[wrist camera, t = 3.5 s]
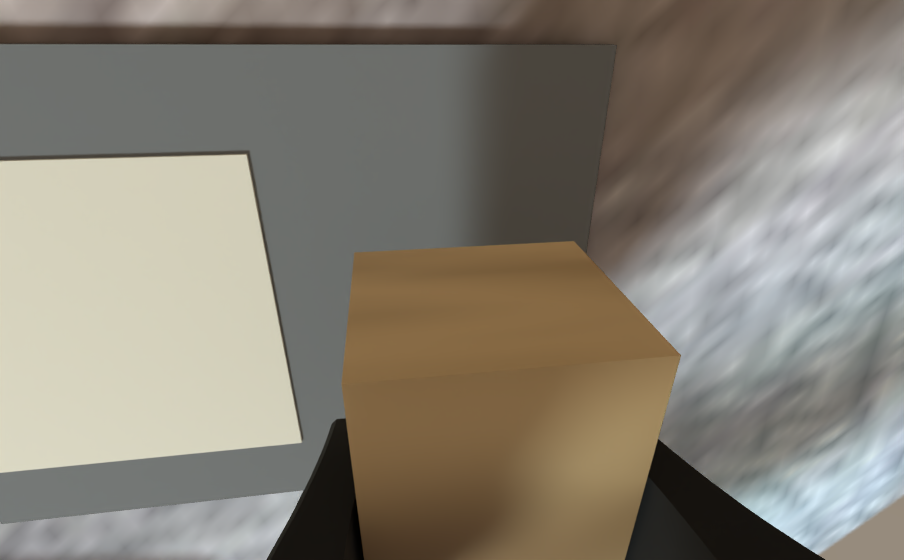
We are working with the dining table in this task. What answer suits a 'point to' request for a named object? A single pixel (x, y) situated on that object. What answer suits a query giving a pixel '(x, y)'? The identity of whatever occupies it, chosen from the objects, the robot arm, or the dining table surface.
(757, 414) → the dining table surface
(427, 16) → the dining table surface
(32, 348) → the mat
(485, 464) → the pine block
